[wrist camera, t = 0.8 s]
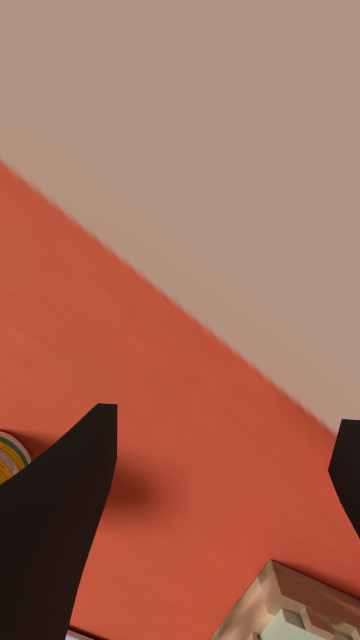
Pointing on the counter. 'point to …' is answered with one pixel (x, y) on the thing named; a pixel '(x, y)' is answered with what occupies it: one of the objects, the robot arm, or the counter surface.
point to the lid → (291, 629)
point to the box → (291, 606)
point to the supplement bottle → (11, 456)
